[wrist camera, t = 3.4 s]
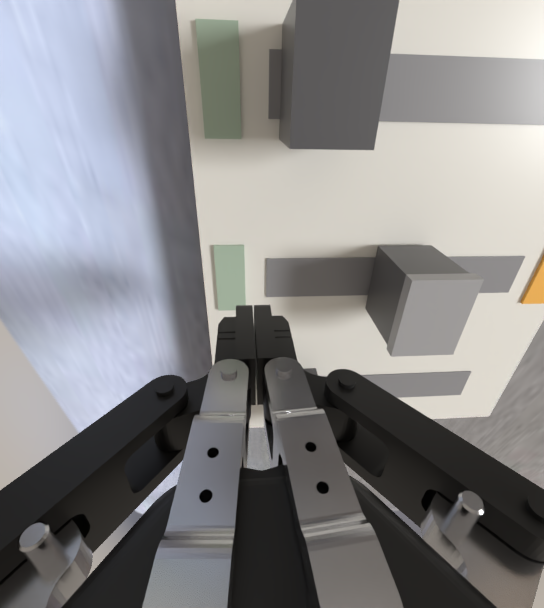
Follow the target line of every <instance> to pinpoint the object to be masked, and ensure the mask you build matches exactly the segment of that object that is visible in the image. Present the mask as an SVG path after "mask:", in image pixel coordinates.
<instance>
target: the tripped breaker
mask: <svg viewBox="0 0 544 608" xmlns="http://www.w3.org/2000/svg"><path fill="white" fill-rule="evenodd" d="M483 281H484V279H483V278H481V277H480V276H478V275H477V274H476V273H469V272H467V271H466V270H465V269H463V268H462V267H460V266H459V265H458V264H456V263H455V262H454V261H452V260H451V259H450V258H448V257H447V256H445V255H444V254H443V253H441V252H440V251H439V250H437V249H436V248H434V247H433V246H432V245H397V246H378V248H377V253H376V258H375V263H374V268H373V273H372V277H371V282H370V287H369V292H368V297H367V302H366V307H365V309H366V310H367V312H368V314H369V315H370V317H371V319H372V320H373V322H374V324H375V325H376V327H377V329H378V330H379V332H380V334H381V335H382V337H383V339H384V340H385V342H386V344H387V348H386V349H387V351H388V353H389V354H390V356H391V357H397V356H426V355H453V354H454V351H455V349H456V346H457V344H458V342H459V339H460V337H461V334H462V332H463V329H464V327H465V325H466V322H467V320H468V317H469V315H470V312H471V310H472V308H473V305H474V303H475V300H476V298H477V295H478V293H479V291H480V288H481V286H482V283H483Z"/></svg>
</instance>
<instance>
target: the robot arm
mask: <svg viewBox="0 0 544 608" xmlns="http://www.w3.org/2000/svg"><path fill="white" fill-rule="evenodd" d="M256 389H257V405H263V410H264V429H265V435H266V441H267V447H268V453H269V459H270V466H271V468H270V469H267V470H263V471H260V470H254V469H249V468H247V457H248V441H249V420H250V418H251V405H256ZM182 460H183V462H182V466H181V470H180V474H179V479H178V483H177V485H176V486H174V487H172V488H171V489H169V490H168V491H167V492H165V493H164V494H163V495H162V496H161V497H160V498H158V499H157V500H156V501H155V502H154V503H153V504H152V505H151V507H150V508H149V509H148V510H147V511H146V512H145V513H144V514H143V516H142V517H141V518H140V519H139V520H138V521H137V522H136V524H135V525H134V526H133V527H132V528H131V529H130V530H129V531H128V533H127V534H126V535H125V536H124V537H123V538H122V540H121V541H120V542H119V543H118V544H117V545H116V546H115V547H114V548H113V550H112V551H111V552H110V553H109V554H108V555H107V556H106V557H105V559H104V560H103V561H102V562H101V563H100V564H99V565H98V567H97V568H96V569H95V570H94V571H93V572H92V573H91V574H90V576H89V577H88V574H89V572H90V569H91V566H92V557H93V556H92V553H93V552H94V551H95V550H96V549H97V548H98V547H99V546H100V545H101V544H102V543H103V542H104V541H105V540H106V539H107V538H108V537H109V536H110V535H111V533H113V531H114V530H116V528H117V527H118V526H119V525H120V524H121V523H122V522H123V521H124V520H125V519H126V518H127V517H128V516H129V515H130V514H131V513H132V512H133V511H134V510H135V509H136V508H137V507H138V506H139V505H140V504H141V503H142V502H143V501H144V500H145V499H146V498H147V497H148V495H149V494H150V493H151V492H152V491H153V490H154V489H155V488H156V487H157V486H158V485H159V484H160V483H161V482H162V481H163V480H164V479H165V478H166V477H167V476H168V475H169V474H170V473H171V472H172V471H173V470H174V469H175V468H176V467H177V466H178V464H179V463H180V462H181V461H182ZM344 463H345V464H346V465H348V466H349V467H350V468H351V469H352V470H353V471H355V472H356V473H357V474H358V475H359V476H360V477H362V478H363V479H364V480H365V481H366V482H367V483H369V484H370V485H371V486H372V487H373V488H374V489H376V490H377V491H378V492H379V493H380V494H381V495H383V496H384V497H385V498H386V499H387V500H388V501H390V502H391V503H392V504H393V505H394V506H395V507H397V508H398V509H399V510H400V511H401V512H402V513H404V514H405V515H406V516H407V517H408V518H409V519H411V520H412V521H413V522H414V523H415V524H416V525H418V526H419V527H420V528H421V535H422V538H423V539H422V538H421V537H420V536H419V535H418V534H416V532H414V531H413V530H412V529H411V528H410V527H409V526H408V525H407V524H406V523H405V522H403V521H402V520H401V519H400V518H399V517H398V516H397V515H396V514H395V513H394V512H393V511H392V510H391V509H390V508H388V507H387V506H386V505H385V504H384V503H383V502H382V501H381V500H380V499H379V498H378V497H377V496H375V495H374V494H373V493H372V492H371V491H370V490H369V489H368V488H367V487H365V486H364V485H363V484H362V483H360V482H359V481H358V480H356V479H354V478H352V477H351V476H349V475H348V472H347V469H346V467H345V464H344ZM543 569H544V489H542V488H540V487H539V486H537V485H536V484H534V483H532V482H531V481H529V480H528V479H526V478H525V477H523V476H521V475H520V474H518V473H517V472H515V471H513V470H512V469H510V468H509V467H507V466H505V465H504V464H502V463H501V462H499V461H497V460H496V459H494V458H493V457H491V456H489V455H488V454H486V453H485V452H483V451H481V450H480V449H478V448H477V447H475V446H473V445H472V444H470V443H469V442H467V441H465V440H464V439H462V438H461V437H459V436H457V435H456V434H454V433H453V432H451V431H449V430H448V429H446V428H445V427H443V426H441V425H440V424H438V423H437V422H435V421H433V420H432V419H430V418H429V417H427V416H425V415H424V414H422V413H421V412H419V411H417V410H416V409H414V408H413V407H411V406H409V405H408V404H406V403H405V402H403V401H401V400H400V399H398V398H397V397H395V396H393V395H392V394H390V393H389V392H387V391H385V390H384V389H382V388H381V387H379V386H377V385H376V384H374V383H373V382H371V381H369V380H368V379H366V378H365V377H363V376H361V375H360V374H358V373H356V372H354V371H352V370H348V369H337V370H334V371H332V372H330V373H329V374H328V376H327V377H323V376H318V375H314V374H311V373H309V372H307V371H305V370H304V369H303V367H302V366H301V364H300V363H299V362H298V361H297V357H296V352H295V348H294V344H293V339H292V335H291V331H290V326H289V322H288V321H287V320H286V319H285V318H284V317H283V316H272V313H271V306H270V305H254V323H253V306H252V305H236V317H224V318H223V319H222V320H221V321H220V323H219V324H218V334H217V342H216V352H215V362H214V365H213V366H212V367H211V369H210V371H209V373H208V374H207V375H206V376H204V377H203V378H201V379H198V380H195V381H191V382H188V383H186V382H185V381H184V379H182V378H181V377H179V376H175V375H165V376H161V377H158V378H156V379H154V380H152V381H151V382H149V383H148V384H147V385H145V386H144V387H142V388H141V389H140V390H138V391H137V392H135V393H134V394H133V395H131V396H130V397H129V398H127V399H126V400H124V401H123V402H122V403H120V404H119V405H118V406H116V407H115V408H113V409H112V410H111V411H109V412H108V413H107V414H105V415H104V416H102V417H101V418H100V419H98V420H97V421H95V422H94V423H93V424H91V425H90V426H89V427H87V428H86V429H84V430H83V431H82V432H80V433H79V434H78V435H76V436H75V437H73V438H72V439H71V440H69V441H68V442H66V443H65V444H64V445H62V446H61V447H60V448H58V449H57V450H55V451H54V452H53V453H51V454H50V455H49V456H47V457H46V458H44V459H43V460H42V461H40V462H39V463H38V464H36V465H35V466H33V467H32V468H31V469H29V470H28V471H26V472H25V473H24V474H22V475H21V476H20V477H18V478H17V479H15V480H14V481H13V482H11V483H10V484H9V485H7V486H6V487H4V488H3V489H2V490H0V608H532V605H533V602H534V598H535V595H536V591H537V587H538V584H539V580H540V577H541V573H542V570H543ZM87 577H88V578H87Z"/></svg>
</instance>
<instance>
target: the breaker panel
mask: <svg viewBox="0 0 544 608" xmlns="http://www.w3.org/2000/svg"><path fill="white" fill-rule="evenodd" d="M175 2H176V12H177V21H178V31H179V41H180V51H181V61H182V70H183V80H184V90H185V100H186V110H187V119H188V129H189V139H190V149H191V159H192V168H193V178H194V188H195V198H196V208H197V217H198V227H199V237H200V247H201V257H202V266H203V276H204V286H205V296H206V306H207V315H208V325H209V335H210V345H211V355H212V364H213V365H214V362H215V352H216V342H217V334H218V324H219V323H220V321H221V320H222V319H223V318H224V317H236V305H252V306H253V323H254V305H270V306H271V313H272V316H283V317H284V318H285V319H286V320H287V321H288V322H289V326H290V331H291V335H292V339H293V344H294V348H295V352H296V357H297V361H298V362H299V363H300V364H301V366H302V367H303V369H304V370H305V371H307V372H309V373H311V374H314V375H318V376H323V377H327V376H328V374H329V373H330V372H332V371H334V370H337V369H348V370H352V371H354V372H356V373H358V374H360V375H361V376H363V377H365V378H366V379H368V380H369V381H371V382H373V383H374V384H376V385H377V386H379V387H381V388H382V389H384V390H385V391H387V392H389V393H390V394H392V395H393V396H395V397H397V398H398V399H400V400H401V401H403V402H405V403H406V404H408V405H409V406H411V407H413V408H414V409H416V410H417V411H419V412H421V413H422V414H424V415H425V416H427V417H429V418H430V419H443V418H464V417H484V416H490V414H491V412H492V410H493V409H494V407H495V405H496V403H497V402H498V400H499V398H500V396H501V394H502V393H503V391H504V389H505V387H506V386H507V384H508V382H509V380H510V378H511V377H512V375H513V373H514V371H515V370H516V368H517V366H518V364H519V362H520V361H521V359H522V357H523V355H524V354H525V352H526V350H527V348H528V346H529V345H530V343H531V341H532V339H533V338H534V336H535V334H536V332H537V330H538V329H539V327H540V325H541V323H542V322H543V320H544V0H175ZM397 245H432V246H433V247H434V248H436V249H437V250H439V251H440V252H441V253H443V254H444V255H445V256H447V257H448V258H450V259H451V260H452V261H454V262H455V263H456V264H458V265H459V266H460V267H462V268H463V269H465V270H466V271H467V272H469V273H476V274H477V275H478V276H480V277H481V278H483V279H484V281H483V283H482V286H481V288H480V291H479V293H478V295H477V298H476V300H475V303H474V305H473V308H472V310H471V312H470V315H469V317H468V320H467V322H466V325H465V327H464V329H463V332H462V334H461V337H460V339H459V342H458V344H457V346H456V349H455V351H454V354H453V355H426V356H397V357H391V356H390V354H389V353H388V351H387V349H386V348H387V344H386V342H385V340H384V339H383V337H382V335H381V334H380V332H379V330H378V329H377V327H376V325H375V324H374V322H373V320H372V319H371V317H370V315H369V314H368V312H367V310H366V309H365V307H366V302H367V297H368V292H369V287H370V282H371V277H372V273H373V268H374V263H375V258H376V253H377V248H378V246H397ZM258 427H264V410H263V405H257V389H256V405H251V418H250V420H249V428H258Z"/></svg>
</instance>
